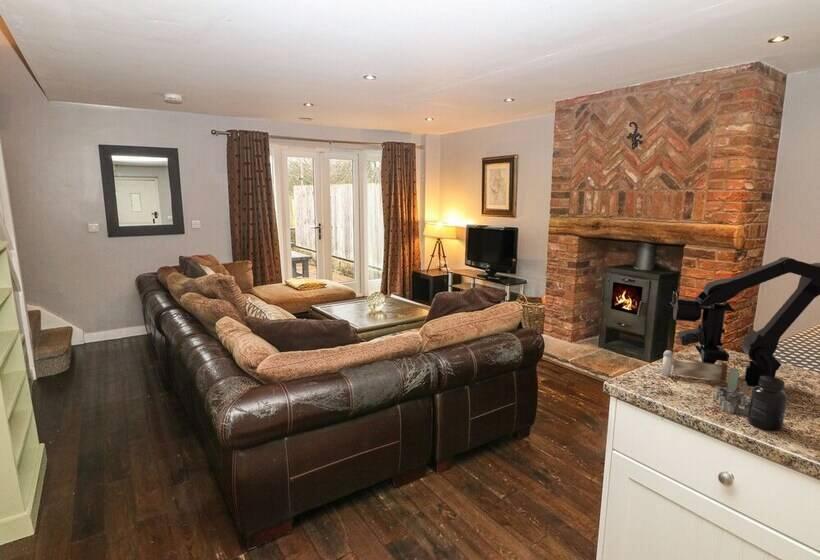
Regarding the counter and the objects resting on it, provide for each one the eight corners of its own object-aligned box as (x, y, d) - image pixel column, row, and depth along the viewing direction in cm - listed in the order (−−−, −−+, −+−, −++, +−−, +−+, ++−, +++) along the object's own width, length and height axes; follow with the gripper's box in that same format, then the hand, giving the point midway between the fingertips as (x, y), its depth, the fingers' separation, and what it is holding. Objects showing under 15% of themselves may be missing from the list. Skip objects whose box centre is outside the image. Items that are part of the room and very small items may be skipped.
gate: (673, 374, 142) (675, 359, 141) (672, 372, 144) (674, 357, 143) (725, 381, 137) (727, 365, 136) (723, 379, 139) (726, 363, 138)
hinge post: (670, 374, 144) (673, 350, 143) (670, 376, 142) (673, 352, 140) (661, 372, 145) (664, 348, 144) (660, 375, 143) (663, 350, 142)
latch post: (735, 386, 136) (738, 369, 135) (736, 390, 133) (738, 373, 132) (727, 384, 137) (730, 368, 136) (727, 388, 134) (730, 371, 133)
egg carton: (755, 418, 117) (757, 403, 116) (720, 412, 120) (722, 397, 119) (744, 401, 126) (747, 387, 126) (712, 396, 129) (714, 382, 129)
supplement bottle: (788, 433, 109) (797, 386, 107) (755, 430, 110) (763, 383, 108) (772, 420, 116) (780, 375, 113) (741, 417, 117) (748, 372, 115)
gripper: (676, 312, 150) (670, 357, 153) (687, 329, 133) (681, 379, 136) (716, 316, 146) (709, 362, 149) (733, 334, 129) (725, 385, 132)
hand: (705, 371), depth 142 cm, fingers closed
